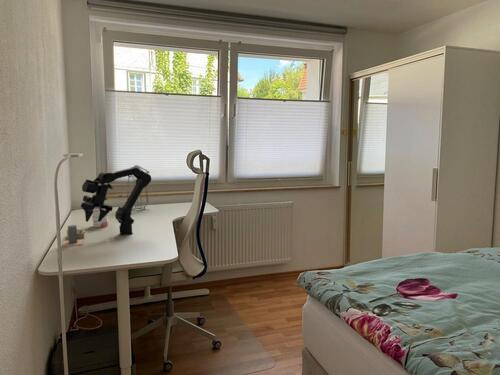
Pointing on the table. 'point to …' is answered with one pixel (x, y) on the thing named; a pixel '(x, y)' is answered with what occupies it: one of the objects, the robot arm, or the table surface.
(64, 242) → the rubber mat
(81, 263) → the table surface
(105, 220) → the ink cartridge box
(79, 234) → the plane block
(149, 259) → the table surface
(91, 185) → the robot arm
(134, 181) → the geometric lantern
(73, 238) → the dark gray rectangular block
